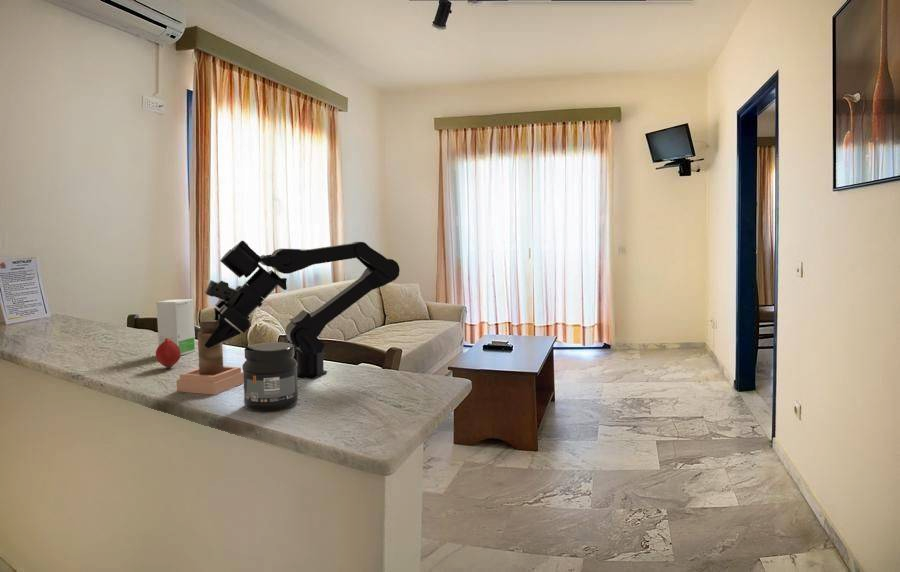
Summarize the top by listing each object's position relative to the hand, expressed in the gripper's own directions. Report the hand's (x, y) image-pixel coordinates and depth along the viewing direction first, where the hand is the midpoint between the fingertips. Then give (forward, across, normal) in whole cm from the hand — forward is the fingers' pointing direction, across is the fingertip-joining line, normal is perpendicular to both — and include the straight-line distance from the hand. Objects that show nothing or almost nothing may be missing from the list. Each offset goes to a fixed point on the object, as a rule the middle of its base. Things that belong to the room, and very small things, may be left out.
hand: (204, 343), depth 125 cm
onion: (+13, -24, +2) cm, 28 cm away
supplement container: (0, +20, +15) cm, 25 cm away
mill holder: (+6, 0, +8) cm, 10 cm away
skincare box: (+11, -43, +4) cm, 44 cm away
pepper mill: (+5, 0, +6) cm, 8 cm away
